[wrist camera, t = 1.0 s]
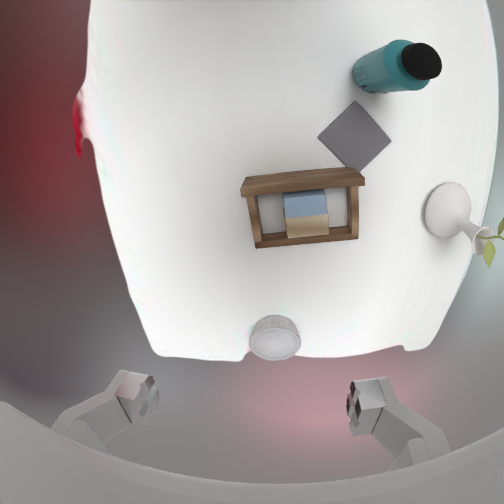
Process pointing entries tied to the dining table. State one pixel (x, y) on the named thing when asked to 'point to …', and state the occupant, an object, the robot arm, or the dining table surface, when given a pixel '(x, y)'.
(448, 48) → the dining table surface
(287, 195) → the light blue block
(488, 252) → the flower in vase
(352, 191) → the brown wooden drawer
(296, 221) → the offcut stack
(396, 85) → the beverage bottle
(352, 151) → the mat
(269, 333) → the ramekin
